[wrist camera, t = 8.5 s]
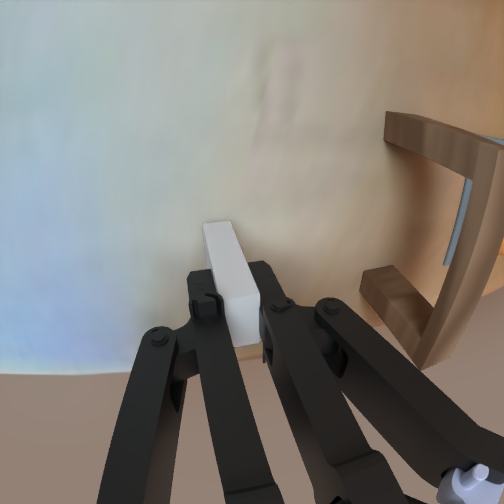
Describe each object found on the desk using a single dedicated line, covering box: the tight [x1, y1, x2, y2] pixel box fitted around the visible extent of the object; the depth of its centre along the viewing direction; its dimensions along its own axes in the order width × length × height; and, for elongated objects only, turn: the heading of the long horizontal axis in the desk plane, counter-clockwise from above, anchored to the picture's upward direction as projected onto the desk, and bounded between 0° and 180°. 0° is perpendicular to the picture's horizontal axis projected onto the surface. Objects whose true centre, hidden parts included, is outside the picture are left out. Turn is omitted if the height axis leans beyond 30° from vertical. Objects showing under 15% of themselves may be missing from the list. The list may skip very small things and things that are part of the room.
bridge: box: [359, 111, 504, 371], centre depth 18 cm, size 3×14×9 cm, turn 1°
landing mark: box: [443, 135, 504, 266], centre depth 25 cm, size 13×13×1 cm
